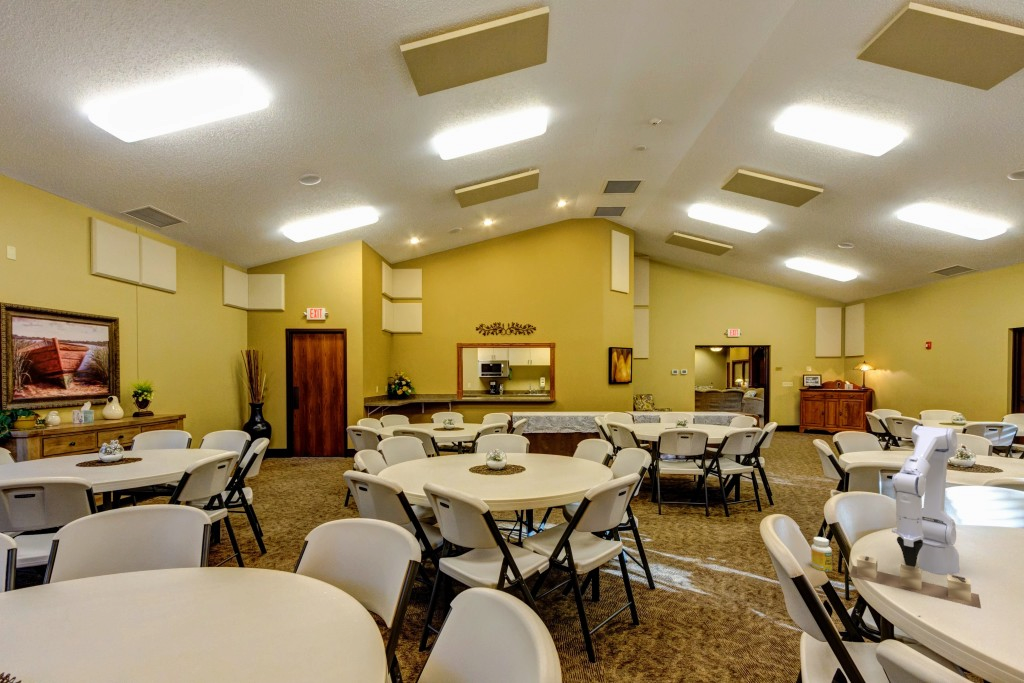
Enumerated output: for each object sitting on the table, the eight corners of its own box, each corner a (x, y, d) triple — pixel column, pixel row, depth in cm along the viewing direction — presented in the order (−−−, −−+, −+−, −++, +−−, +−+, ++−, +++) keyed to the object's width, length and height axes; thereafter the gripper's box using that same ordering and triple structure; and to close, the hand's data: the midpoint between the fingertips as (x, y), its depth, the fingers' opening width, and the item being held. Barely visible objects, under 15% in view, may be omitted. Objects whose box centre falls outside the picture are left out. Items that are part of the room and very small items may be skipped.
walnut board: (848, 579, 142) (848, 576, 142) (853, 568, 150) (853, 565, 150) (981, 612, 124) (981, 608, 124) (978, 598, 131) (978, 594, 131)
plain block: (900, 585, 137) (900, 568, 137) (901, 579, 140) (900, 564, 140) (921, 590, 134) (920, 573, 134) (921, 584, 137) (921, 568, 137)
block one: (857, 574, 143) (856, 558, 143) (858, 569, 147) (858, 553, 147) (876, 579, 140) (875, 562, 140) (877, 574, 144) (877, 557, 144)
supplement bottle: (816, 565, 152) (816, 534, 152) (835, 572, 147) (835, 540, 148) (808, 569, 149) (807, 538, 149) (827, 576, 144) (826, 543, 145)
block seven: (948, 596, 130) (947, 578, 130) (947, 590, 133) (947, 573, 133) (971, 602, 127) (970, 583, 127) (970, 596, 130) (969, 577, 131)
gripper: (892, 508, 146) (894, 554, 145) (889, 519, 135) (890, 569, 134) (923, 513, 141) (925, 560, 140) (922, 525, 130) (924, 576, 129)
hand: (910, 565), depth 137 cm, fingers closed
